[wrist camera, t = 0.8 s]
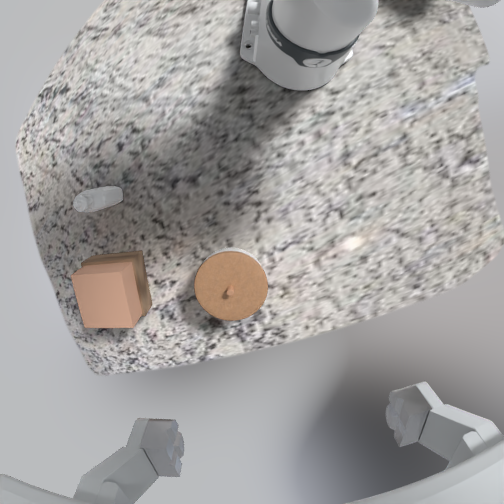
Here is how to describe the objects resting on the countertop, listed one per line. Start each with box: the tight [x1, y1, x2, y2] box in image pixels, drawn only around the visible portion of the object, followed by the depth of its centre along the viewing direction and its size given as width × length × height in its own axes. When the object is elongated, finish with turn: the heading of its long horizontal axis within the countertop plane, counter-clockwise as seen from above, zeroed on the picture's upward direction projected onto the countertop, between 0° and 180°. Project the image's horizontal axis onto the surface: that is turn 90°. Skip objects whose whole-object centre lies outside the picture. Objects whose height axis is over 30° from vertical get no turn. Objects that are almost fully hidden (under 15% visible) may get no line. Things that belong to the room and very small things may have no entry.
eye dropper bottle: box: [73, 186, 123, 212], centre depth 43 cm, size 4×6×12 cm
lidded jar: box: [194, 247, 268, 321], centre depth 48 cm, size 11×11×9 cm
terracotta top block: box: [71, 262, 143, 328], centre depth 45 cm, size 9×9×5 cm
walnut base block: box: [81, 251, 152, 316], centre depth 50 cm, size 10×10×5 cm
